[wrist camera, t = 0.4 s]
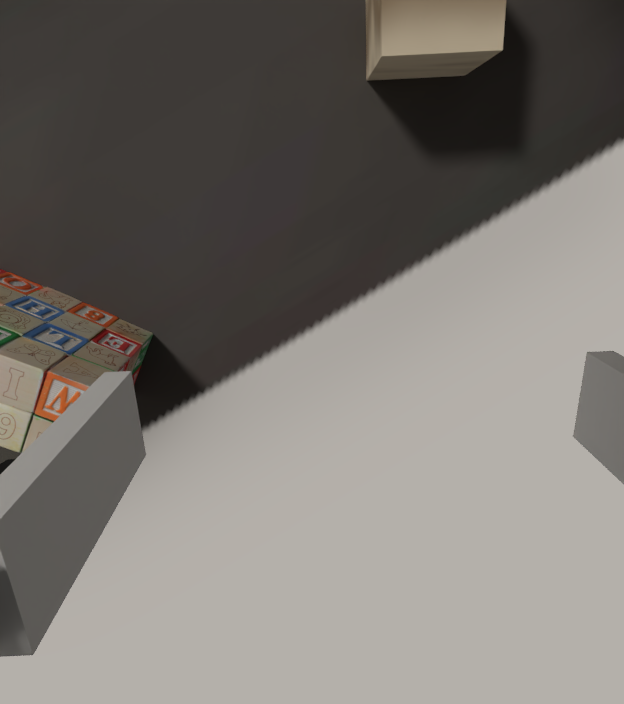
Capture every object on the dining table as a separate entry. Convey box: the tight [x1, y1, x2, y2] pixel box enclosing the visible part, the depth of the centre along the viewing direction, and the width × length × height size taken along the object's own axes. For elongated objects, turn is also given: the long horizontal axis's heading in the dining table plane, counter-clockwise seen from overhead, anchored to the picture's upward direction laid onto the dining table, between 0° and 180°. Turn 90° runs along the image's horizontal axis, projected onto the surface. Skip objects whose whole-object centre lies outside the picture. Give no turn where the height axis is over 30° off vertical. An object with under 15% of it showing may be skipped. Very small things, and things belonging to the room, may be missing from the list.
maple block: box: [366, 0, 506, 81], centre depth 30 cm, size 7×7×7 cm
